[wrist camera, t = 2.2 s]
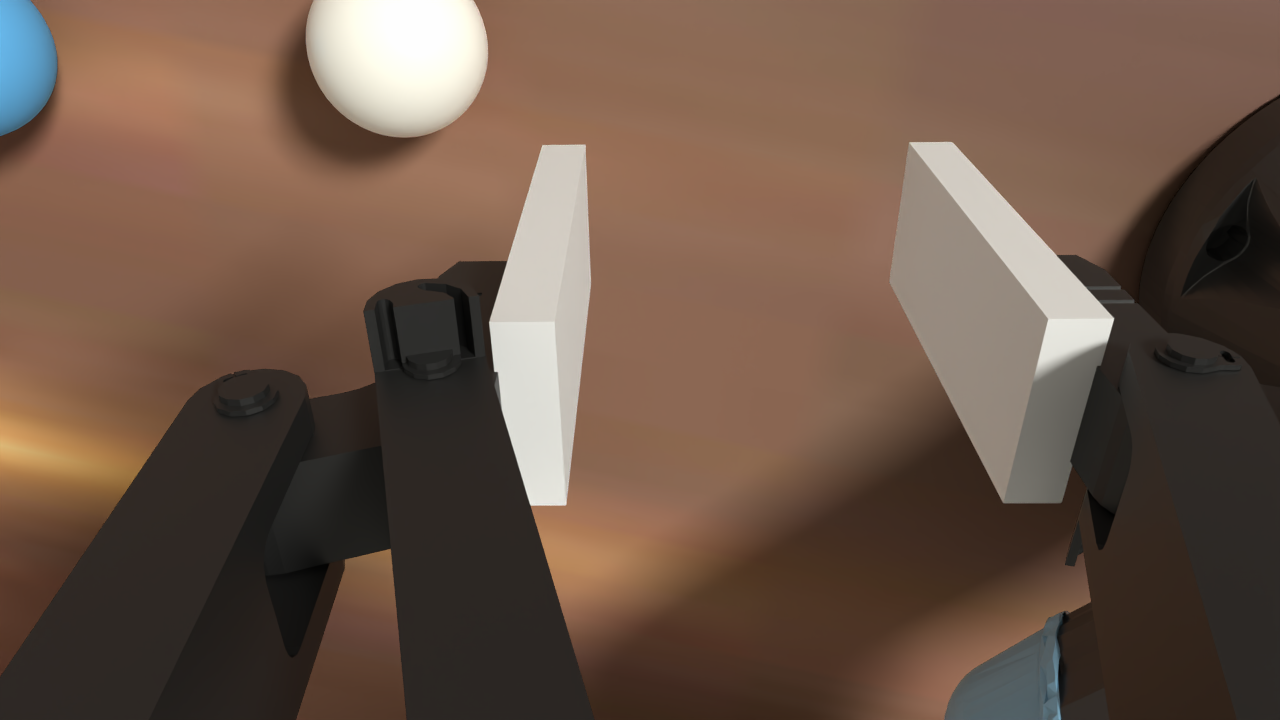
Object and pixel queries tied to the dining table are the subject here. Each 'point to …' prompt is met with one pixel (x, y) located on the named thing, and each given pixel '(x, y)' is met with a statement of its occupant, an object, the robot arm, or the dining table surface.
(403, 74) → the white cue ball
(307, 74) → the dining table surface
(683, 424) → the dining table surface
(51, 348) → the dining table surface
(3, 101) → the blue object ball
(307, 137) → the dining table surface
